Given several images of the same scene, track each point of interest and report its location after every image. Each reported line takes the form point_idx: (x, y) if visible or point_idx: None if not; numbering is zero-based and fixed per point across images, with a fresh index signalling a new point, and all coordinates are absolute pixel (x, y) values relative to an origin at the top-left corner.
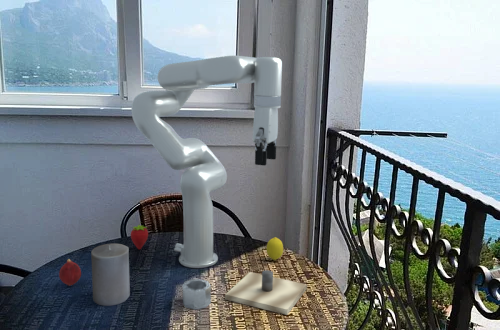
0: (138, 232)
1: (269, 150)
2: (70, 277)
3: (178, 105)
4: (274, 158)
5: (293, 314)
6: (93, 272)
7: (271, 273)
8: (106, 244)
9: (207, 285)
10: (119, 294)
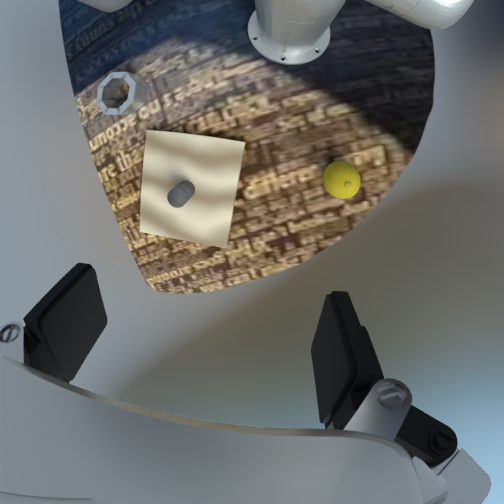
0: None
1: (329, 367)
2: None
3: None
4: (312, 350)
5: (148, 235)
6: None
7: (175, 205)
8: None
9: (118, 109)
10: (97, 8)
